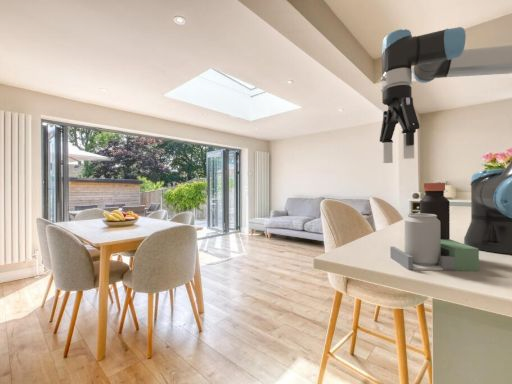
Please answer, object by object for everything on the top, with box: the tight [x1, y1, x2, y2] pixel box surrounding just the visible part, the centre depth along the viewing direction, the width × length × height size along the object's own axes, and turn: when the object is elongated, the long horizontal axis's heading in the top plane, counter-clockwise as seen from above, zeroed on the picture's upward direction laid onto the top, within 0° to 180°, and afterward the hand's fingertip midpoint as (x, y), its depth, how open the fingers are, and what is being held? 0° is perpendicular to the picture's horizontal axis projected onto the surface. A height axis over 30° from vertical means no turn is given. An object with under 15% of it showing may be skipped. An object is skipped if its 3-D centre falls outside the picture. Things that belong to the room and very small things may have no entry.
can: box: [404, 212, 441, 265], centre depth 63 cm, size 8×8×12 cm
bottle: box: [419, 182, 451, 240], centre depth 72 cm, size 7×7×20 cm
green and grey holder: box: [389, 239, 480, 272], centre depth 63 cm, size 15×10×5 cm, turn 84°
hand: (397, 161), depth 75 cm, fingers open, 13 cm apart
